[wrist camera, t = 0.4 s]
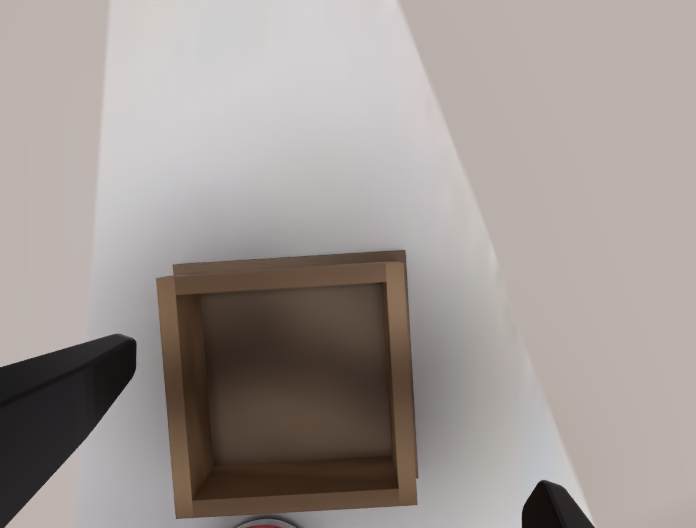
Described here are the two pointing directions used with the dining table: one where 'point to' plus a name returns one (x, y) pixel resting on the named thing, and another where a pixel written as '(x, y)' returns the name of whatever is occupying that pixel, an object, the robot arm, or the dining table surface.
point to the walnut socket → (289, 384)
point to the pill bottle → (266, 524)
